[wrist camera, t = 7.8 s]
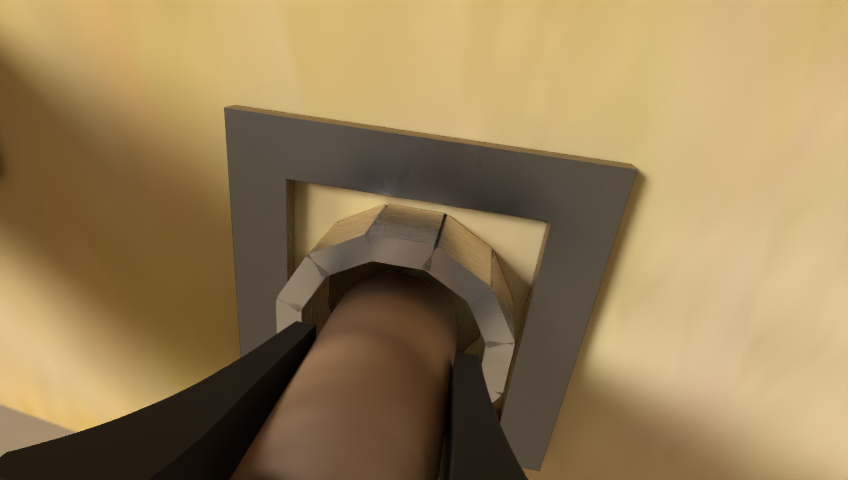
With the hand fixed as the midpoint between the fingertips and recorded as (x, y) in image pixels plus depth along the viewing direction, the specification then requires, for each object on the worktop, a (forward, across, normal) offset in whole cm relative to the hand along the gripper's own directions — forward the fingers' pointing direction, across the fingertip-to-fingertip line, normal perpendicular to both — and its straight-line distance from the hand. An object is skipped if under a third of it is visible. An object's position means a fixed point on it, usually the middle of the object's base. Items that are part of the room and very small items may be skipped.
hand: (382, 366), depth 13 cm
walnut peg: (+2, 0, 0) cm, 2 cm away
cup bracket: (+3, 0, 0) cm, 3 cm away
